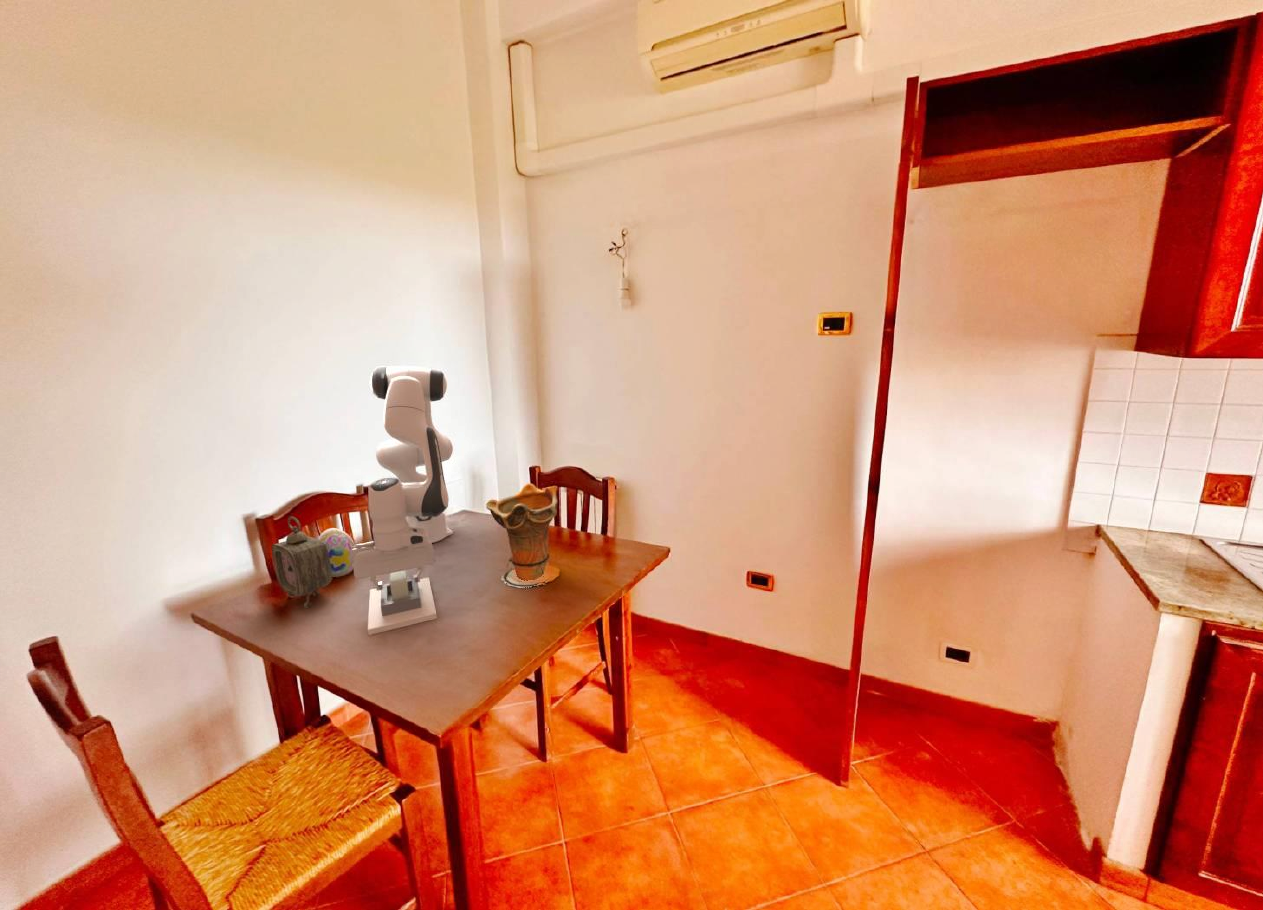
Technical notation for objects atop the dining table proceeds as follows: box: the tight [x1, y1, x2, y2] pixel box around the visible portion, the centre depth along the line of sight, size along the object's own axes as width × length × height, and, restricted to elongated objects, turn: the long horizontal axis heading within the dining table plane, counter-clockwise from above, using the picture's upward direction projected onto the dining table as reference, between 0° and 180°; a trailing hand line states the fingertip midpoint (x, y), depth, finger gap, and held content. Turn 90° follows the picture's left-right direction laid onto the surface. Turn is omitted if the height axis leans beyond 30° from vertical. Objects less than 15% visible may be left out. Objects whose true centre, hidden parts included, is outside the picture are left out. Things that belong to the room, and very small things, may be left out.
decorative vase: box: [485, 482, 559, 589], centre depth 151 cm, size 21×23×28 cm
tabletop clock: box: [271, 516, 333, 608], centre depth 141 cm, size 14×9×25 cm, turn 56°
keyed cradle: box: [367, 577, 438, 636], centre depth 138 cm, size 24×16×4 cm, turn 26°
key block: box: [389, 570, 409, 601], centre depth 137 cm, size 4×8×7 cm, turn 26°
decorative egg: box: [317, 527, 356, 578], centre depth 159 cm, size 12×12×15 cm
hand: (398, 585), depth 137 cm, fingers open, 8 cm apart
